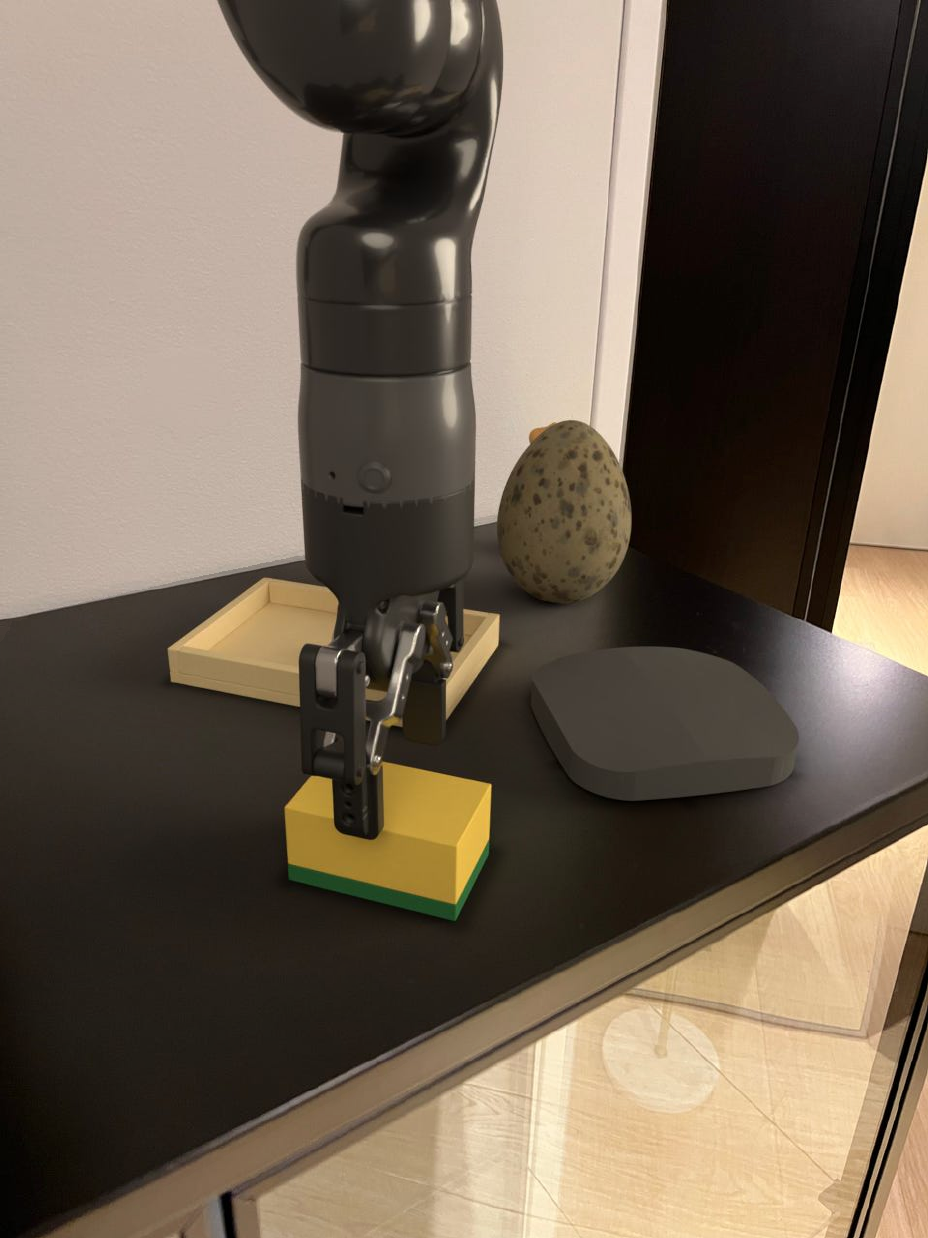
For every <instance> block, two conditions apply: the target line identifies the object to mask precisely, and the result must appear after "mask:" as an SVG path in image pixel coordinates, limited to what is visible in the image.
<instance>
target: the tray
mask: <svg viewBox="0 0 928 1238" xmlns="http://www.w3.org/2000/svg"><path fill="white" fill-rule="evenodd" d="M337 607H338V599H337V598H336V596H335V595H334V594H333V593H332V592H331V591H330V590H329V589H328V588H327V587H326V586H321V585H315V584H308V583H304V582H303V583H302V582H296V581H289V580H284V579H277V578H270V577H263V578H260V580H259V581H257V582H256V583H255V584H253V585H251V587H249V588H247V589H246V590H245V591H244V592H242V593H241V594H239V596H237V597H236V598H234V599H232V600H231V601H230V602H228V604H226V605H225V606H223V607H221V609H219V610H218V611H216V612H215V613H214V614H212V615H211V616H210V617H209V618H207V619H206V620H203V622H202V623H200V624H199V625H197V626H196V627H195V628H194V629H191V631H189V632H187V634H185V635H184V636H183V637H181V638H180V639H178V640H177V641H176V642H174V643H173V644H172V645H171V646H169V647H168V648H167V655H168V663H169V671H170V672H169V676H170V682H171V683H176V684H180V685H186V686H189V687H196V688H201V689H207V690H211V691H217V692H222V693H226V694H232V695H237V696H241V697H248V698H250V699H251V698H252V699H258V700H262V701H267V702H272V703H277V704H282V705H287V706H293V707H299V708H300V692H299V655H300V652H301V649H302V647H303V646H304V645H305V644H306V643H309V644H315V645H321V646H323V645H326V646H327V645H328V644H329V643H331V642H332V636H333V632H334V627H335V623H336V618H337ZM445 620H446V623H447V625H448V617H447V615H446V617H445ZM463 628H464V644H463V646H462V648H461V651H460V652H459V653H457V652H450V654H451V656H452V663H453V669H452V672H451V674H450V676H449V678H447V679H446V678H443V679H445V680H446V721H448V719H449V718H450V717H451V715H452V713H453V712H454V710H455V709H456V707H457V706H458V704H459V703H460V702H461V700H462V699H463V697H464V696H465V694H466V693H467V692H468V690H469V689H470V687H471V686H472V684H473V683H474V681H475V680H476V678H477V677H478V675H479V674H480V673H481V671H482V670H483V668H484V667H485V665H486V664H487V663H488V661H489V660H490V658H491V656H492V655H493V654H494V652H495V651H496V650H497V648H498V647H499V640H500V639H499V638H500V637H499V635H500V614H499V613H493V612H486V611H485V612H484V611H479V610H474V609H473V610H472V609H466V608H463ZM387 693H388V692H384V691H378V690H372V689H367V688H366V699H367V700H372V701H380V700H382V699H384V698H385V696H386V695H387ZM366 721H370V719H367V718H366ZM370 722H371V721H370ZM392 726H395V727H399V728H402V719H401V720H400V721H399V722H398V723H396V724H393V725H392Z"/></svg>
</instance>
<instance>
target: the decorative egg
mask: <svg viewBox="0 0 928 1238" xmlns="http://www.w3.org/2000/svg"><path fill="white" fill-rule="evenodd" d="M497 512H498V513H497V518H496V519H497V520H496V537H497V546H498V549H499V550H498V551H499V553H500V556H501V560H502V562H503V564H504V566H505V568H506V571H508V573H509V575H510V576H511V578H512V579H513V580H514V582H516V583H517V585H518V586H519V587H520V588H522V590H524V591H525V592H527V593H528V594H529V595H531V596H532V597H534V598H536V599H538V600H540V601H544V602H550V603H554V604H557V605H561V604H562V605H563V604H573V603H578V602H580V601H583V600H585V599H588V598H590V597H591V596H594V594H596V593H598V592H599V591H600V590H602V589H603V588H604V587H605V586H606V585H607V584H608V583H609V582H610V581H611V580H612V579H613V578H614V576H615V575H616V573H617V572H618V571H619V569H620V567H621V566H622V563H623V561H624V560H625V557H626V554H627V551H628V548H629V544H630V540H631V533H632V505H631V498H630V492H629V488H628V485H627V481H626V477H625V474H624V471H623V469H622V467H621V464H620V462H619V460H618V458H617V456H616V455H615V453H614V451H613V449H612V448H611V445H609V443H608V442H607V441H606V439H605V438H604V437H603V436H602V435H601V434H600V433H599V432H598V431H597V430H596V429H595V428H593V426H591V425H589V424H587V423H586V422H583V421H580V420H575V419H567V420H562V421H559V422H556V424H554V425H552V426H550V427H549V428H547V429H546V430H545V431H543V432H542V433H541V434H540V435H539V436H538V437H537V438H536V439H535V440H534V441H533V442H532V443H531V444H530V443H529V445H528V446H527V447H526V448H525V450H524V451H523V452H522V453H521V455H520V457H518V459H517V461H516V463H515V464H514V466H513V468H512V470H511V472H510V473H509V476H508V478H507V480H506V483H505V486H504V488H503V491H502V494H501V497H500V501H499V505H498V510H497Z"/></svg>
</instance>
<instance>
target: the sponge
mask: <svg viewBox="0 0 928 1238" xmlns="http://www.w3.org/2000/svg"><path fill="white" fill-rule="evenodd" d="M382 765H383V799H384V827H383V829H382V831H381V832H380V834H379V835H378V837H377V838H376V839H374V840H368V839H363V838H359V837H354V836H350V835H345V834H342V833H340V832H339V831H338V830H337V829H336V828H335V825H334V811H333V791H332V779H328V778H324V777H319V776H311V775H310V777H309V778H307V780H306V781H305V782H304V784H302V786H301V787H300V788H299V789H298V791H296V793H295V794H294V796H292V798H291V799H290V800H289V801H288V802H287V804H286V805H285V806H284V820H285V821H284V823H285V838H286V839H285V840H286V853H287V872H288V873H287V874H288V880H289V881H292V882H296V883H299V884H300V883H301V884H303V885H308V886H311V887H317V888H320V889H324V890H328V891H332V892H336V893H341V894H344V895H348V896H352V897H357V898H360V899H364V900H369V901H372V902H376V903H379V904H380V903H381V904H383V905H388V906H392V907H396V908H400V909H404V910H408V911H412V912H417V913H421V914H424V915H429V916H432V917H436V918H441V919H445V920H448V921H452V922H456V921H457V919H458V917H459V915H460V913H461V911H462V909H463V907H464V905H465V903H466V901H467V899H468V897H469V895H470V893H471V891H472V889H473V887H474V885H475V883H476V881H477V879H478V877H479V875H480V874H481V871H482V869H483V867H484V865H485V862H486V861H487V859H488V857H489V855H490V830H491V809H492V808H491V806H492V804H491V803H492V784H491V783H487V782H484V781H478V780H473V779H468V778H463V777H459V776H454V775H449V774H444V773H439V772H435V771H431V770H425V769H421V768H416V767H410V766H407V765H406V766H405V765H402V764H397V763H391V762H386V761H382Z"/></svg>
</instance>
